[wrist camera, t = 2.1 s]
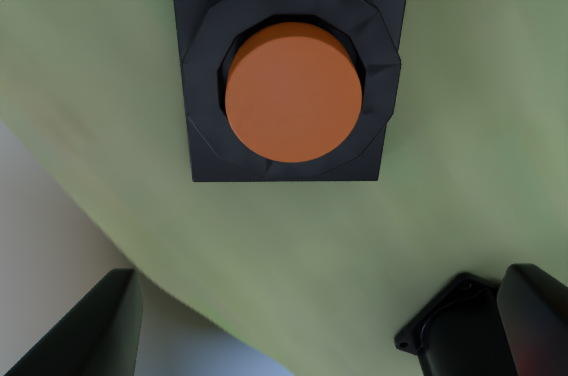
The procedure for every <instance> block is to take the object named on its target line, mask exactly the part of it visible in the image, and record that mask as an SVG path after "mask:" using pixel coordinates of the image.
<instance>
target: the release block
mask: <svg viewBox="0 0 568 376" xmlns="http://www.w3.org/2000/svg"><path fill="white" fill-rule="evenodd" d="M405 5H406V0H174V10H175V19H176V29H177V38H178V48H179V57H180V67H181V77H182V86H183V96H184V105H185V115H186V124H187V134H188V143H189V153H190V162H191V172H192V180H193V182H276V181H377V180H378V176H379V170H380V164H381V157H382V151H383V145H384V138H385V132H386V126H387V122H388V121H389V120H390V118H391V117H392V115H393V113H394V107H395V101H396V95H397V89H398V82H399V76H400V70H401V59H400V57H399V54H398V49H399V43H400V37H401V30H402V24H403V18H404V11H405ZM282 22H303V23H308V24H312V25H315V26H318V27H320V28H322V29H324V30H326V31H327V32H329V33H330V34H332V35H333V36H334V37H335V38H336V39H337V40H338V41H339V42H340V43H341V44H342V45H343V46H344V48H345V49H346V51H347V53H348V54H349V56H350V59H351V61H352V63H353V65H354V68H355V70H356V72H357V75H358V77H359V80H360V84H361V90H362V105H361V110H360V114H359V117H358V120H357V122H356V124H355V126H354V128H353V129H352V131H351V132H350V134H349V135H348V136H347V138H346V139H345V140H344V141H343V142H342V143H341V144H340V145H339V146H337V147H336V148H335V149H333V150H332V151H330V152H329V153H327V154H325V155H323V156H321V157H318V158H316V159H312V160H309V161H303V162H293V163H291V162H280V161H275V160H271V159H268V158H265V157H263V156H260V155H259V154H257V153H255V152H253V151H252V150H251V149H249V148H248V147H247V146H246V145H245V144H243V143H242V142H241V141H240V139H239V138H238V137H237V136H236V134H235V133H234V131H233V129H232V128H231V125H230V123H229V121H228V117H227V114H226V107H225V94H226V87H227V80H228V73H229V69H230V65H231V62H232V60H233V58H234V56H235V54H236V52H237V51H238V49H239V48H240V47H241V45H242V44H243V43H244V42H245V41H246V40H247V39H248V38H249V37H251V36H252V35H253V34H255V33H256V32H258V31H259V30H261V29H263V28H265V27H268V26H270V25H273V24H277V23H282Z"/></svg>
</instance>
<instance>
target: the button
mask: <svg viewBox="0 0 568 376" xmlns="http://www.w3.org/2000/svg"><path fill="white" fill-rule="evenodd" d="M361 105H362V90H361V84H360V80H359V77H358V75H357V72H356V70H355V68H354V65H353V63H352V61H351V59H350V56H349V54H348V53H347V51H346V49H345V48H344V46H343V45H342V44H341V43H340V42H339V41H338V40H337V39H336V38H335V37H334V36H333V35H332V34H330V33H329V32H327V31H326V30H324V29H322V28H320V27H318V26H315V25H312V24H308V23H303V22H282V23H277V24H273V25H270V26H268V27H265V28H263V29H261V30H259V31H258V32H256V33H255V34H253V35H252V36H251V37H249V38H248V39H247V40H246V41H245V42H244V43H243V44H242V45H241V47H240V48H239V49H238V51H237V52H236V54H235V56H234V58H233V60H232V62H231V65H230V69H229V73H228V80H227V87H226V94H225V107H226V114H227V117H228V121H229V123H230V125H231V128H232V129H233V131H234V133H235V134H236V136H237V137H238V138H239V139H240V141H241V142H242V143H243V144H245V145H246V146H247V147H248V148H249V149H251V150H252V151H253V152H255V153H257V154H259V155H260V156H263V157H265V158H268V159H271V160H275V161H280V162H291V163H293V162H303V161H309V160H312V159H316V158H318V157H321V156H323V155H325V154H327V153H329V152H330V151H332V150H333V149H335V148H336V147H337V146H339V145H340V144H341V143H342V142H343V141H344V140H345V139H346V138H347V136H348V135H349V134H350V132H351V131H352V129H353V128H354V126H355V124H356V122H357V120H358V117H359V114H360V110H361Z"/></svg>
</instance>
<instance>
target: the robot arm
mask: <svg viewBox="0 0 568 376" xmlns="http://www.w3.org/2000/svg"><path fill="white" fill-rule="evenodd" d="M464 282H465V283H464ZM142 315H143V297H142V292H141V287H140V282H139V277H138V273H137V271H136V270H135V269H133V268H116V269H113V270H111V271H110V272H108V273H107V275H105V276H104V278H102V280H100V281H99V282H98V283H97V284H96V285H95V286H94V287H93V288H92V289H91V290H90V291H89V292H88V293H87V294H86V295H85V296H84V297H83V298H82V299H81V300H80V301H79V302H78V303H77V304H76V305H75V306H74V307H73V308H72V309H71V310H70V311H69V312H68V313H67V314H66V315H65V316H64V317H63V318H62V319H61V320H60V321H59V322H58V323H57V324H56V325H55V326H54V327H53V328H52V329H51V330H50V331H49V332H48V333H47V334H46V335H44V336H43V337H42V338H41V339H40V340H39V341H38V342H37V343H36V344H35V345H34V346H33V347H32V348H31V349H30V350H29V351H28V352H27V353H26V354H25V355H24V356H23V357H22V358H21V359H20V360H19V361H18V362H17V363H16V364H15V365H14V366H13V367H12V368H11V369H10V370H9V371H8V372H7V373H6V374H5V375H4V376H134V370H135V363H136V357H137V350H138V343H139V336H140V329H141V322H142ZM394 343H395V346H396V348H397V349H399V350H402V351H405V352H408V353H411V354H414V355H417V356H418V359H419V362H420V365H421V368H422V372H423V375H424V376H568V287H567V286H565V285H564V284H562V283H561V282H559V281H558V280H556V279H555V278H554V277H552V276H551V275H549V274H548V273H546V272H545V271H543V270H542V269H540V268H539V267H538V266H536V265H534V264H512V265H510V266H509V267H508V269H507V271H506V273H505V276H504V278H503V281H502V284H501V286H499V285H495V284H493V283H490V282H488V281H485V280H483V279H481V278H478V277H476V276H473V275H471V274H468V273H462V274H460V275H458V276H456V277H455V278H454V279H453V280H452V281H451V282H450V283H449V284H448V285H447V286H446V287H445V288H444V289H443V290H442V291H441V292H440V293H439V294H438V295H437V296H436V297H435V298H434V299H433V300H432V301H431V302H430V303H429V304H428V305H427V306H426V307H425V308H424V309H423V310H422V311H421V312H420V313H419V314H418V315H417V316H416V317H415V318H414V319H413V320H412V321H411V322H410V323H409V324H408V325H407V326H406V327H405V328H404V329H403V330H402V331H401V332H400V333H399V334H398V335H397V336H396V337H395V338H394Z"/></svg>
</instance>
